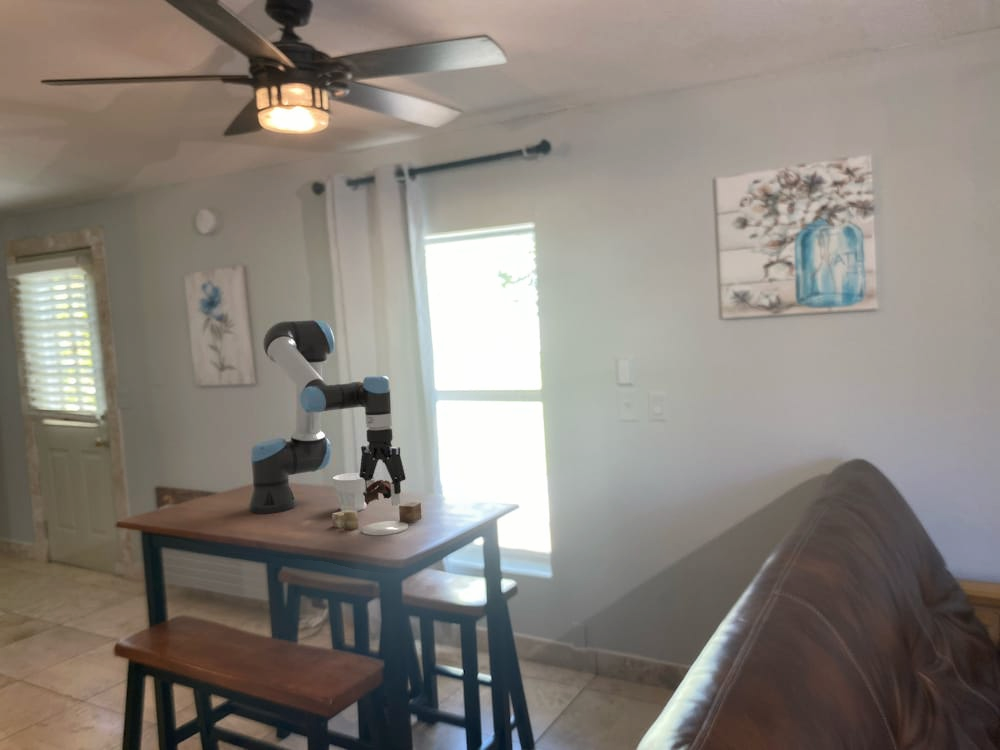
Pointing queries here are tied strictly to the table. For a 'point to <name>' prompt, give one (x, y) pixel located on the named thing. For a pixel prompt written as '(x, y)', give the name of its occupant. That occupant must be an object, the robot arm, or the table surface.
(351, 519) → the oak dowel offcut
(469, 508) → the table surface
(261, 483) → the robot arm
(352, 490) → the cup
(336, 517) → the maple block
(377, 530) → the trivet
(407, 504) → the walnut block
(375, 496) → the pottery mug
